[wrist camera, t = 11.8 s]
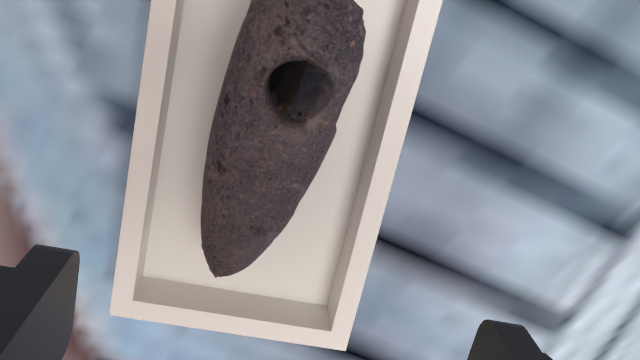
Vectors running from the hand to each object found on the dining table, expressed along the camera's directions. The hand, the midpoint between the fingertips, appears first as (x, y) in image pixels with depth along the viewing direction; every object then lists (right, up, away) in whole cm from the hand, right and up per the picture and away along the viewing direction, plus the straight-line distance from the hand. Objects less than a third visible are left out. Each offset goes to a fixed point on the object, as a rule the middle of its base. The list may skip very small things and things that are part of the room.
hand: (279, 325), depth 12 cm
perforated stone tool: (-2, +6, +18) cm, 19 cm away
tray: (-2, +6, +19) cm, 20 cm away
